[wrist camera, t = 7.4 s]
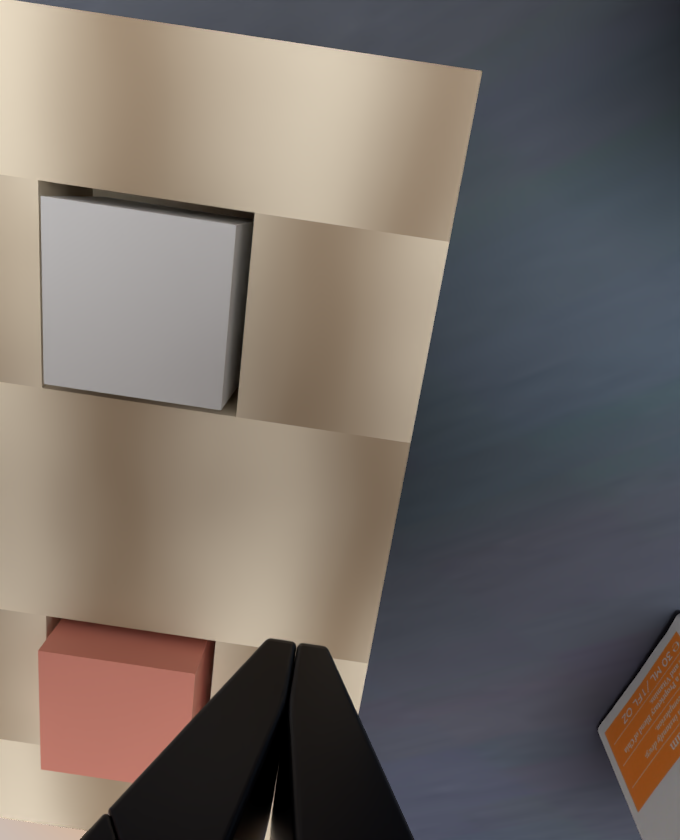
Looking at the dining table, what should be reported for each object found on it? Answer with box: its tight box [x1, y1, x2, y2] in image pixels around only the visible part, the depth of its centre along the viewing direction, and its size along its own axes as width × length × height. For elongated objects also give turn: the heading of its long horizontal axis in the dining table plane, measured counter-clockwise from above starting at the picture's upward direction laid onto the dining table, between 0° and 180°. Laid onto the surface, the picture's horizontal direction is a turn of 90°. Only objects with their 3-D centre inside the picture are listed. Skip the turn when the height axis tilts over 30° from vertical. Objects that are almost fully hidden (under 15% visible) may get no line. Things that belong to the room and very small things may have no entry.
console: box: [0, 0, 482, 840], centre depth 19 cm, size 14×24×4 cm, turn 172°
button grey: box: [41, 196, 254, 410], centre depth 16 cm, size 4×4×4 cm
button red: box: [38, 618, 216, 783], centre depth 20 cm, size 4×4×4 cm
